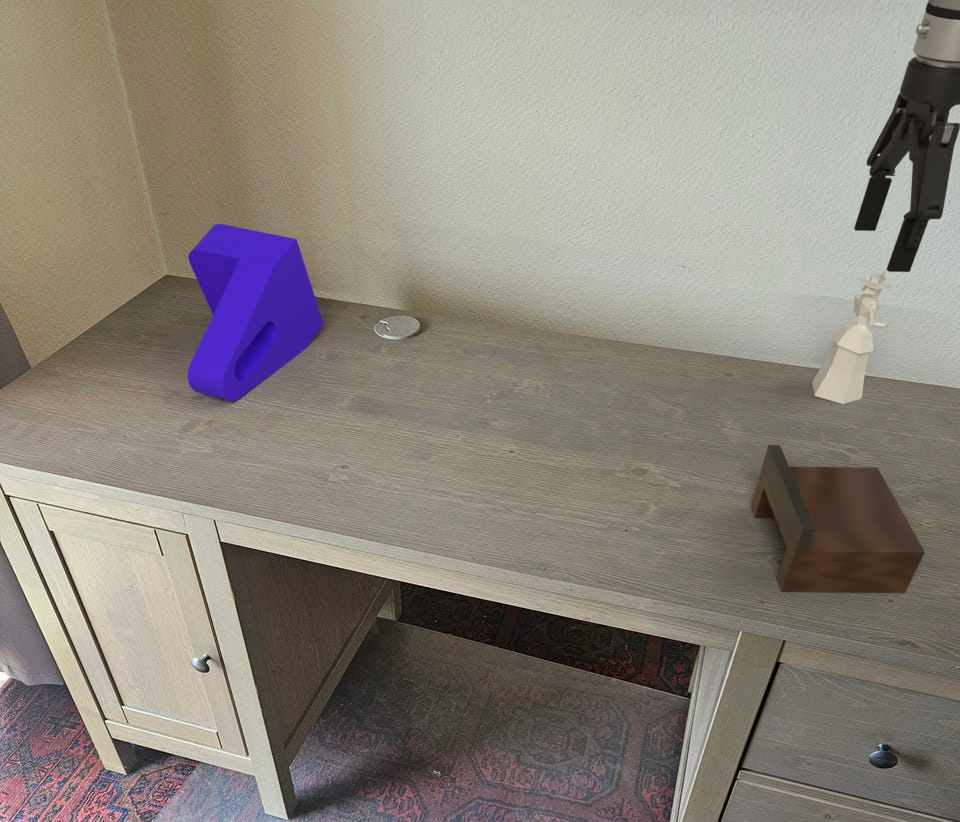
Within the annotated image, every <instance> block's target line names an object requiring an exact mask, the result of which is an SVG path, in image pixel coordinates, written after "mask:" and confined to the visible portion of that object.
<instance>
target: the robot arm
mask: <svg viewBox="0 0 960 822" xmlns="http://www.w3.org/2000/svg"><path fill="white" fill-rule="evenodd" d="M925 6H926V7H925V9H924V14H923V16H922V20H921V22H920V23H919V24H917V25H916V28H915V33H916V34H917V36H916V38H915V42H914V45H913V49H912V52H913V54H914V57H912V58H911V59H910V60H909V61H908V62H907V66H906V69H905V73H904V75H903V79H902V82H901V85H900V89H899V93H898V94H897V96H896V100H895V102H894V105H893V108H892V111H891V113H890V115H889V117H888V119H887V120H886V122H885V125H884V126H883V128H882V130H881V132H880V134H879V136H878V137H877V139H876V142H875V143H874V146H873V148H872V149H871V151H870V152H869V155H868V157H867V159H866V166H867V167H870V168H869V178H868V179H869V180H868V183H867V186H866V189H865V192H864V194H863V195H864V196H863V198H862V201H861V205H860V208H859V212H858V214H857V218H856V220H855V223H854V228H853V230H854V231H855V232H857V231H858V232H860V231H861V232H876V231H877V228H878V223H879V221H880V218H881V215H882V212H883V209H884V206H885V202H886V200H887V197H888V194H889V190H890V188H891V184H892V182H893V179H892V178H891V177H895V176H896V168H897V167H898V165H899V164H900V163H901V161H903V159H904V158H905V157H906V155H907V154H908V160H909V161H911V162H912V171H911V188H910V191H911V192H910V206H909V211H908V212H906V213H905V214H904V215H903V221H902V224H901V226H900V228H899V232H898V235H897V238H896V241H895V243H894V246H893V250H892V252H891V255H890V258H889V261H888V263H887V266H886V271H887V272H888V273H911V270H912V267H913V264H914V261H915V259H916V256H917V253H918V250H919V248H920V246H921V243H922V240H923V237H924V235H925V232H926V229H927V227H928V224H929V221H930V220H940V219H942V217H943V214H944V208H945V201H946V196H947V191H948V190H947V189H948V184H949V178H950V172H951V167H952V162H953V155H954V150H955V145H956V142H957V138H958V136H959V132H960V122H949V117H950V111H951V109H953V108H954V107H955V106H960V0H928V1H927V4H926V5H925Z"/></svg>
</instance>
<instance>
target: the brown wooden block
mask: <svg viewBox="0 0 960 822" xmlns="http://www.w3.org/2000/svg"><path fill="white" fill-rule="evenodd" d="M761 465H762V466H761V469H760V473H759V476H758V478H757V479H758V480H757V483H756V486H755V490H754V494H753V497H752V501H751V503H750V508H751V512H752V514H753V517H754V518H755V519H775V521H776V524H777V526H778V529H779V532H780V534H781V536H782V538H783V542H784V544H785V547H786V548H785V552H784V554H783V558H782V561H781V563H780V566H779V569H778V572H777V575H776V580H777V583H778V586H779V590H780V592H781V593H853V594H854V593H855V594H856V593H861V594H862V593H863V594H865V593H866V594H867V593H868V594H905V593H906V592H907V590H908V588H909V586H910V584H911V581H912V580H913V578H914V576H915V574H916V572H917V569H918V567H919V565H920V564H921V561H922V560H923V558H924V556H925V554H926V551H925V549H924V548H923V545H922V544H921V542H920V540H919V539H918V537H917V535H916V533H915V531H914V530H913V528H912V526H911V525H910V523H909V521H908V519H907V517H906V515H905V514H904V512H903V509H902V508H901V507H900V505H899V503H898V501H897V499H896V498H895V496H894V494H893V493H892V491H891V489H890V487H889V485H888V484H887V481H886V480H885V478H884V476H883V475H882V473H881V470H880V469H879V468H878V467H873V466H872V467H864V466H863V467H861V466H860V467H859V466H858V467H857V466H789V462H788V461H787V458H786V456H785V453H784V451H783V449H782V447H781V445H780V444H768V445H767V447H766V451H765V455H764V458H763V462H762V464H761Z"/></svg>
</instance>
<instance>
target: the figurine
mask: <svg viewBox="0 0 960 822" xmlns="http://www.w3.org/2000/svg"><path fill="white" fill-rule="evenodd" d="M865 276H866V278H862V277H860V278H858V279H856V281H857V282H859V283H860V284H862V285H863V286H862V288H861V291H862V293H863V294H861V293H857V294H855V295H854V296H853V297H854V298H853V300H854V301H853V309H852V311H853V312H854V314H855V315H856V317H857V318H858V319H857V321H856V322H851V323H844V324H843V325H842V326H841V327H840V328H839V329H838V330H837V331H836V332H835V333H834V334H832V335H831V338H832V340H833V341H832V344H831V346H830V349H829V351H828V354H827V356H826V358H825V360H824V361H823V363H822V365H821V366H820V367H819V370H818V371H817V373H816V374H815V377H814V378H813V380H812V381H811V386H812V391H813V395H814V397H817V398H821V399H824V400H827V401H831V402H834V403H837V404H841V405H845V404H849V403H852V402H855V401H859V400H862V398H863V392H864V391H863V390H864V383H865V374H866V369H867V366H868V362H869V358H870V353H871V352H874V347H875V345H874V339H873V338H874V337H873V333H872V332H871V330H870V329H869V328H868V327H867V324H868V323H869V327H870V328H874V329H880V330H884V329H885V328H886V327H888V326H889V325H890V324H891V323H892V321H888V322H886V323H884V322H876V320H875V318H876V314H877V311H878V309H881V306H880V304H879V301H878V299H877V298H878V297H879V295H880V294H881V293H882V291H883V289H884V290H885V289H890V288H893V286H892V285H889V284H886V283H884V282H885V281H886V280H887V273H886V271H883V272H882V273H878V272H876V273H873V274H871V275H870V276H869V275H868V273H865Z"/></svg>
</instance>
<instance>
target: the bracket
mask: <svg viewBox="0 0 960 822" xmlns="http://www.w3.org/2000/svg"><path fill="white" fill-rule="evenodd" d="M297 239H298V238H295V237H289V236H284V235H279V234H275V233H269V232H264V231H260V230H259V231H258V230H254V229H248V228H244V227H239V226H234V225H230V224H224V223H215V224H214V225H212V227H211V228H210V229H209V230H208V231H207V232H206V233H205V234H204V235H203V236H202V238H201V239H200V240H199V241H198V242H197V243H196V244H195V246H194V247H193V248H192V249H191V251H189V253H188V262H189V265H190V267H191V269H192V272H193V274H194V276H195V278H196V281H197V283H198V285H199V287H200V289H201V291H202V294H203V296H204V299H205V300H206V302H207V306H208V307H209V309H210V311H211V314H212V317H211V319H210V322H209V324H208V326H207V327H206V330H205V332H204V334H203V336H202V338H201V340H200V342H199V345H198V347H197V349H196V351H195V352H194V355H193V357H192V359H191V362H190V364H189V366H188V369H187V381H188V384H189V387H190V388H191V390H192V391H194V392H196V393H200V394H204V395H207V396H211V397H214V398H218V399H221V400H225V401H230V402H234V401H237V400H239V399H240V398H241V397H242V396H244V395H245V394H246V393H248V392H249V391H251V390H252V389H253V388H254V387H256V386H258V385H259V384H260V383H262V382H264V381H265V379H267V378H268V377H270V376H271V375H273V374H274V373H275V372H276V371H278V370H279V369H280V368H281V367H283V366H285V365H286V364H287V363H288V362H289V361H291V360H292V359H294V358H295V357H296V356H298V355H299V354H301V353H302V352H304V350H305V349H306V348H307V347H308V345H309V344H310V343H311V341H312V340H313V339H314V337H315V336H316V334H317V333H318V332H319V331H320V329H321V328H322V326H323V325H324V320H323V317H322V314H321V311H320V308H319V304H318V302H317V299H316V295H315V292H314V289H313V286H312V283H311V279H310V277H309V274H308V270H307V267H306V263H305V260H304V258H303V255H302V252H301V248H300V246H299V242H298V240H297Z"/></svg>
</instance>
